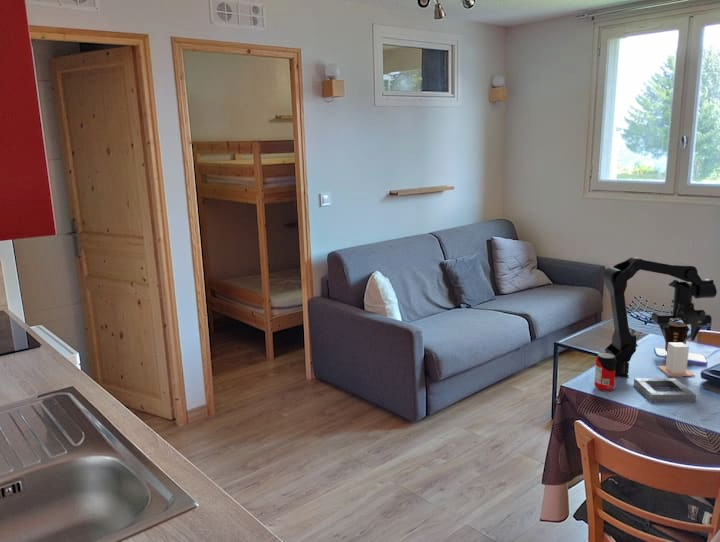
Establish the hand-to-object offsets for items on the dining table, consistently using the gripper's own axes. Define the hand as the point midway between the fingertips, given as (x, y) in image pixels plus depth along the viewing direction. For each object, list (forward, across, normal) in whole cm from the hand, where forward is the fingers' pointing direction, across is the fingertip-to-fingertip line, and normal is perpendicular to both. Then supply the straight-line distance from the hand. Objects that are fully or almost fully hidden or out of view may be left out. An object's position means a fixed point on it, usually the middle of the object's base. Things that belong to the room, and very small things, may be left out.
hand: (679, 340), depth 206 cm
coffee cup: (+12, +8, +18) cm, 23 cm away
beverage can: (+12, -31, -15) cm, 37 cm away
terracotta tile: (+12, 0, 0) cm, 12 cm away
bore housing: (+12, -13, -19) cm, 26 cm away
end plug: (+12, 0, 0) cm, 12 cm away
